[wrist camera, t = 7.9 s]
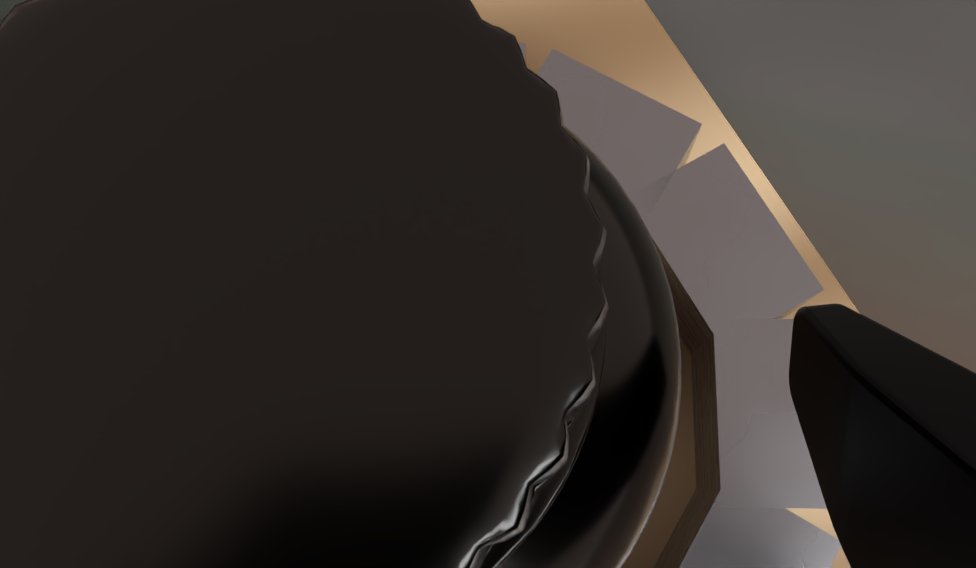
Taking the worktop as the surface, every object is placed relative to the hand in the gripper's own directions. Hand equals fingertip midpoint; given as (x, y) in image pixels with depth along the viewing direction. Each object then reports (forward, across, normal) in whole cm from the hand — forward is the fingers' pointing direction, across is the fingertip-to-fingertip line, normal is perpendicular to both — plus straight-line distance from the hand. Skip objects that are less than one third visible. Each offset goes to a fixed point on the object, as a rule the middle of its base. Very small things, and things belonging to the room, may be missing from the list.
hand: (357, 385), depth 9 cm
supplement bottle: (+6, 0, +6) cm, 8 cm away
